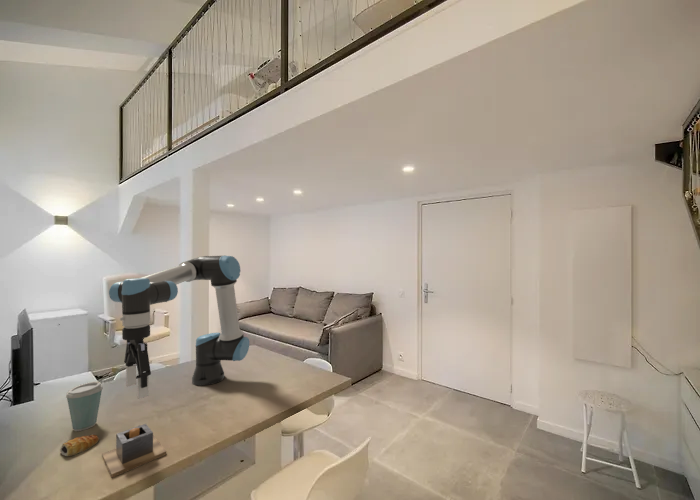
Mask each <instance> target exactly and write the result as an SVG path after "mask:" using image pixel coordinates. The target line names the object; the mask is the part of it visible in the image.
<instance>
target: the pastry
mask: <svg viewBox="0 0 700 500" xmlns="http://www.w3.org/2000/svg"><path fill="white" fill-rule="evenodd" d="M97 443H99V437H98V435H97V434H90V435H83V436H78V437H77V436H76V437H74V438H73V439H69V440H67V442H64V443H62V445H61V446H60V449H59V451H60V452H61V453H60V454H61V455H62V456H65V457H72V456H77V454H78V453H83V452H85V451H86V450H88V449H90V448H92V447H93V446H96V444H97Z"/></svg>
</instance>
